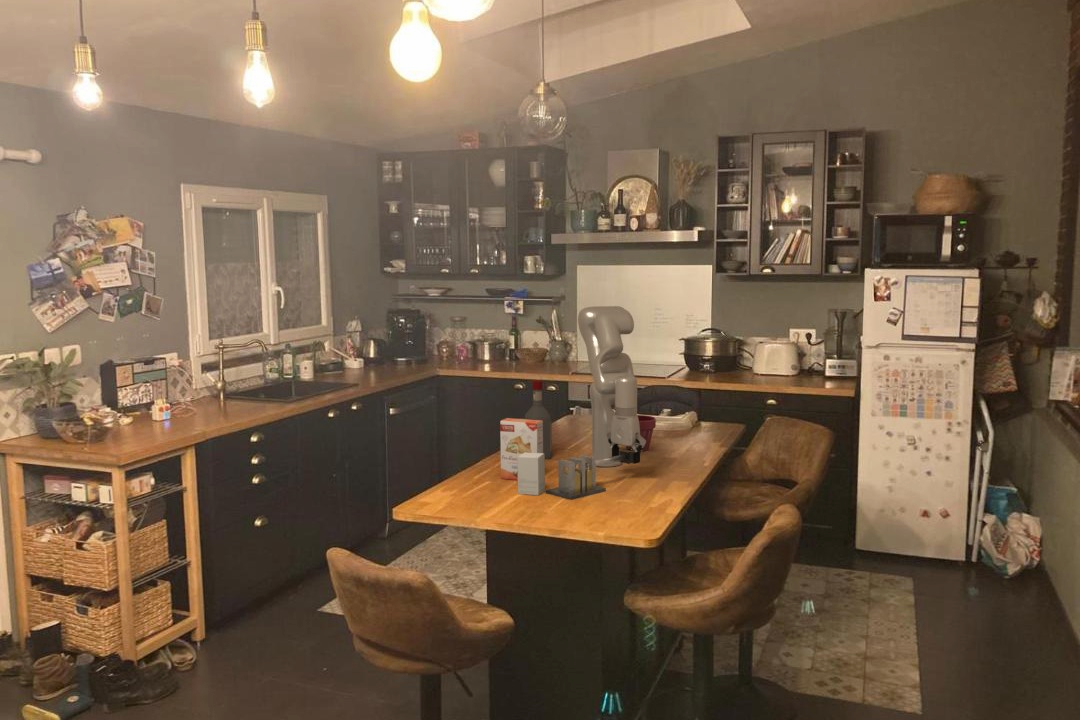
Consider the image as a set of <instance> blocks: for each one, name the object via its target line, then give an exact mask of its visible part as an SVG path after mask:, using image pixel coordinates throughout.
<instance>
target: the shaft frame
mask: <svg viewBox="0 0 1080 720" xmlns="http://www.w3.org/2000/svg"><path fill="white" fill-rule="evenodd" d="M587 462H589V468H586V467H585V464H586V463H587ZM557 464H558V467H557V468H558V487H554V488H553V487H552V488H549V489H545V491H544V492H545V494H547V495H550V496H555V497H558V498H563V499H566V500H571V501H572V500H578V499H580V498H584V497H588V496H591V495H596V494H601V493H603V492H606V491H607V488H606V487H605V486H599V485H597V484H596V483H597V481H596V479H597V478H596V471H597V468H596V458H595V457H592V456H588V455H586V454H585V455H584V454H580V455H578V458H577V457H574V456H572V457H568V460H567V459H562V458H561V459H558V462H557ZM577 465H578V467H576V466H577ZM566 468H567V470H568V474H566V473H565V471H566ZM576 468H578V471H576ZM585 469H588V470H592V488H591V489H585ZM575 472H578V473H580V491H579V492H575Z"/></svg>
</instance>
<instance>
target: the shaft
mask: <svg viewBox="0 0 1080 720" xmlns="http://www.w3.org/2000/svg"><path fill="white" fill-rule="evenodd" d="M633 452H634V451H632V450H628V449H621V450H620V449H619V455H618V456H614V457H609V458H605V459H600V460H596V467H599V466H601V465H605V464H610V463H614V462H618V461H619V462H622V464H623V463H624V464H628V465H629V464H634V463H633ZM585 467H586V469H589V462H586V464H585Z"/></svg>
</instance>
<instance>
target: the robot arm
mask: <svg viewBox="0 0 1080 720" xmlns="http://www.w3.org/2000/svg"><path fill="white" fill-rule="evenodd" d="M577 322H578V323H577V325H578V329H579V333H580V335H581V337H582V339H583V341H584V344H585V347H586V354H587V359H588V365H589V366H588V367H589V371H590V374H591V376H592V377H593V382H592V383H591V384H590V386H589V398H590V404H591V420H592V421H591V423H592V424H591V425H592V427H591V431H592V432H591V437H592V439H591V440H592V441H591V442H592V443H591V444H592V448H591V449H592V450H591V451H592V452H591V453H592V454H591V457H595V458H596V460H600V459H605V458H609V457H614V456H618V455H619V451H620V446H625V447H626V446H632V448H633V450H634V451H633V463H632V464H638V463H641V452H643V451H642V449H643V448H644V445H645V443H646V440H645V439H644V438H643V437H642V436H640V426H639V419H638V416H637V415H638V380H637V377H635V373H634V368H633V367H634V366H633V364H632V362H633V361H632V360H631V357H630V356H629V354H628V353H625V352H623V351H624V343H623V339H622V336H621V335H631V334H632V333H633V332H634V328H635V321H634V318H633V315H632V314H631V312H630V311H628V310H627V309H625V308H624V307H623V306H620V305H619V306H617V305H615V306H614V305H613V306H612V305H611V306H609V305H607V306H606V305H605V306H602V305H600V306H599V305H597V306H588V307H584V308H582V309H581V310H580V311H579V312H578V315H577ZM612 406H614V407H613V408H612ZM639 443H640V445H639ZM636 447H637V448H636ZM622 464H623V463H622V462H619V461H618V462H614V463H610V464H605V465H601V466H598V468H599V467H600V468H601V467H603V468H605V467H607V468H609V467H617V466H620V465H622Z"/></svg>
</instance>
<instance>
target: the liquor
mask: <svg viewBox="0 0 1080 720" xmlns="http://www.w3.org/2000/svg"><path fill="white" fill-rule="evenodd" d="M532 392H533V393H532V396H533V397H532V404H531V405H532V406H530V408H529V410H528V411H527V412H525V415H524V417H523V419H527V420H542V421H543V453H544V456H545V459H547V460H550V459H551V457H552V455H553V449H552V448H553V440H552V439H553V438H552V435H553V434H552V426H553V425H552V421H553V420H552V419H553V418H552V415H551V413H550V412H549V411H548V410H547V408H546V407H545V406H544V404H543V380H539V379H537V380H532Z"/></svg>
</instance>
